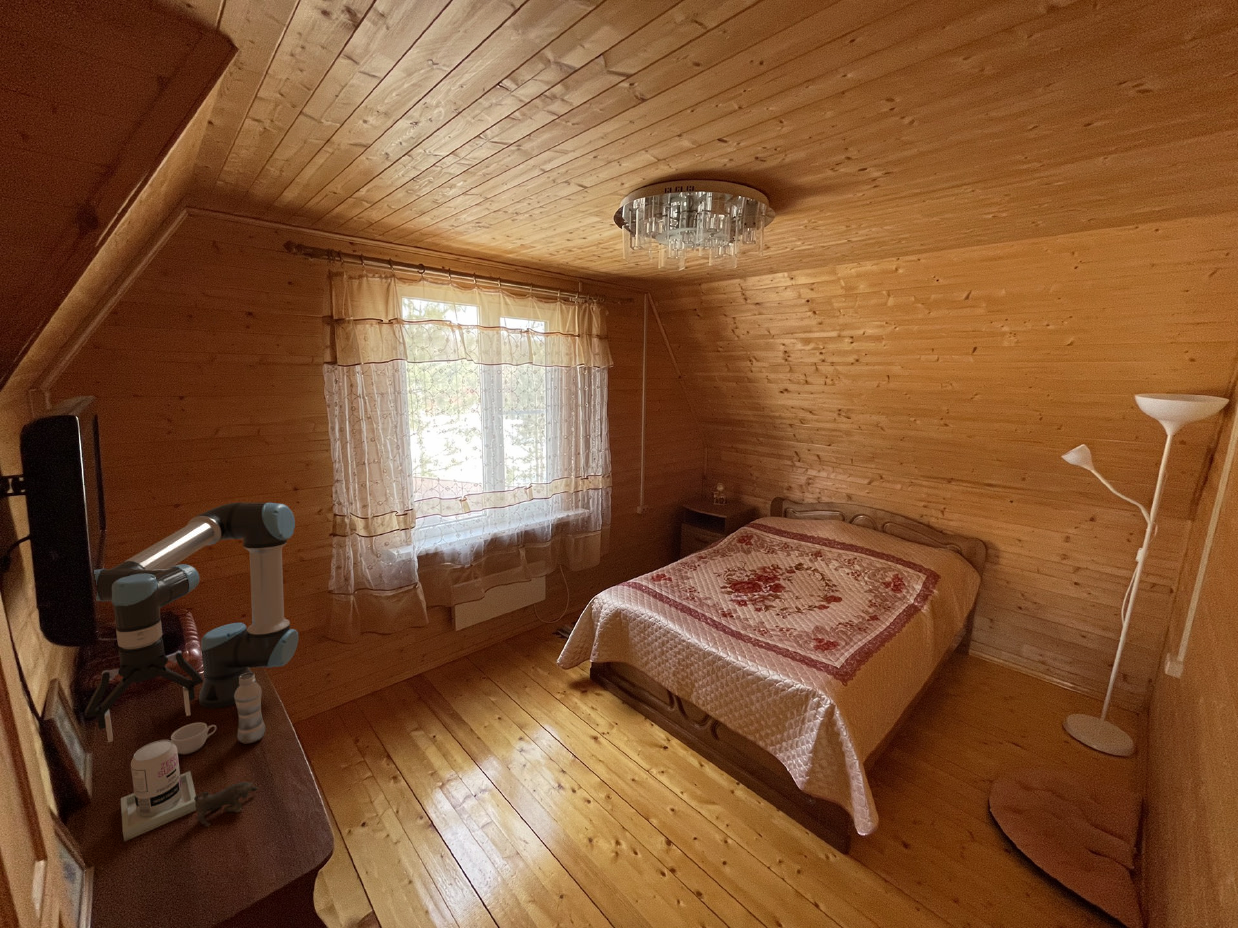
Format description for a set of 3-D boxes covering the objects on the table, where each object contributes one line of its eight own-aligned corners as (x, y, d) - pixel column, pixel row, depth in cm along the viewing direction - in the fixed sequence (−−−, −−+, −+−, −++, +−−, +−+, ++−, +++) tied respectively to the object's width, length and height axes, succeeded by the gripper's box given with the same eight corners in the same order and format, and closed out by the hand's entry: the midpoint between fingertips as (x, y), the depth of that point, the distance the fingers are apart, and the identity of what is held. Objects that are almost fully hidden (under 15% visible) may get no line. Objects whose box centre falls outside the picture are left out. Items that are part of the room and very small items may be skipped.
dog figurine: (196, 831, 118) (193, 803, 117) (197, 814, 123) (194, 787, 122) (259, 806, 126) (257, 779, 125) (258, 791, 130) (255, 765, 129)
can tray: (121, 807, 124) (120, 798, 124) (191, 779, 133) (190, 770, 133) (124, 841, 115) (122, 832, 115) (198, 809, 124) (197, 800, 124)
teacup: (176, 762, 139) (174, 744, 138) (169, 749, 144) (167, 732, 143) (221, 743, 147) (219, 726, 146) (213, 731, 151) (212, 715, 150)
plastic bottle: (251, 748, 145) (246, 684, 142) (232, 744, 146) (226, 680, 143) (271, 733, 151) (266, 671, 148) (252, 730, 153) (247, 668, 149)
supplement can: (145, 797, 126) (138, 743, 124) (187, 788, 129) (181, 734, 127) (130, 823, 119) (123, 766, 117) (175, 812, 122) (168, 756, 120)
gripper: (60, 668, 106) (73, 759, 109) (211, 630, 124) (219, 710, 127) (61, 654, 111) (74, 741, 115) (207, 619, 129) (214, 696, 132)
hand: (150, 725), depth 121 cm, fingers open, 13 cm apart
